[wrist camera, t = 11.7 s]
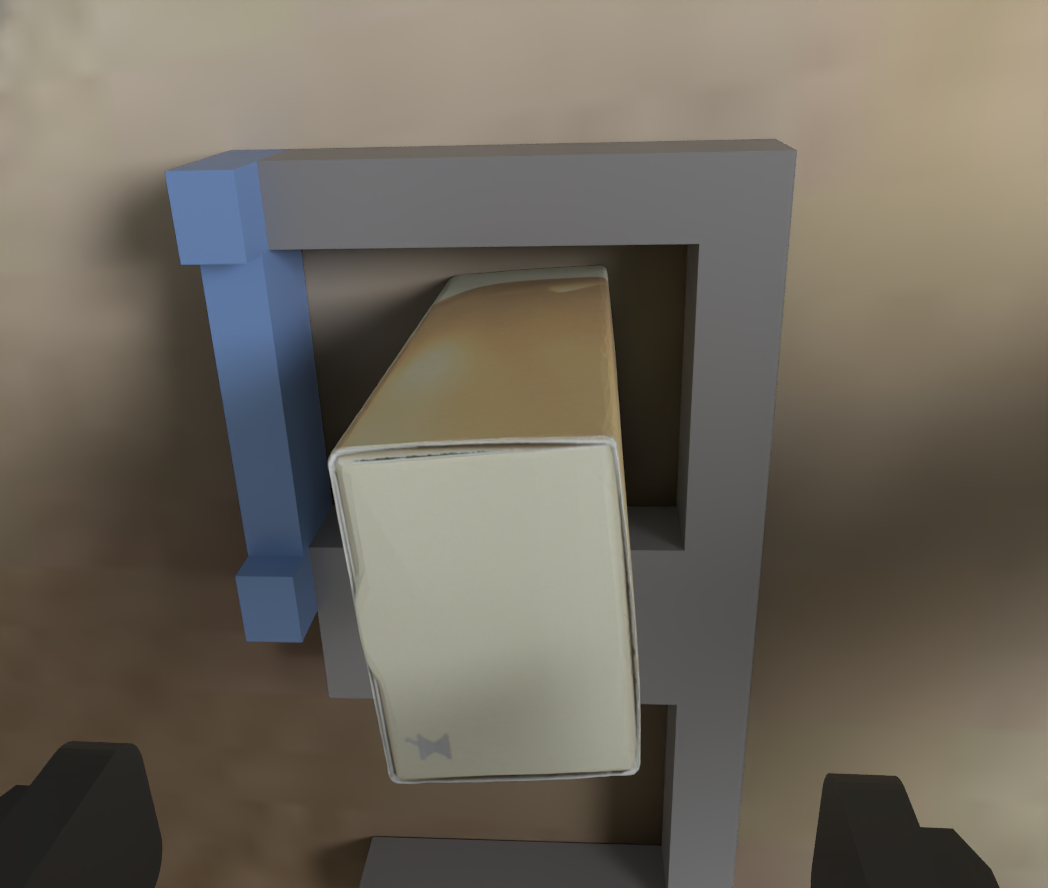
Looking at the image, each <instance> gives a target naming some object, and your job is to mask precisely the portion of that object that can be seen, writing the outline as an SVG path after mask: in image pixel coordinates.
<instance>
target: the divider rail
mask: <svg viewBox="0 0 1048 888" xmlns="http://www.w3.org/2000/svg"><path fill="white" fill-rule="evenodd" d="M796 155H797V150H795V149H793V148H792V147H790V146H788V145H786V144H784V143H782V142H780V141H778V140H777V139H752V140H704V141H657V142H610V143H562V144H515V145H467V146H420V147H373V148H325V149H278V150H231V151H228V152H224V153H221V154H218V155H215V156H212V157H208V158H205V159H202V160H199V161H196V162H192V163H189V164H186V165H183V166H180V167H176V168H173V169H170V170H167V171H165V177H166V182H167V188H168V194H169V200H170V205H171V211H172V217H173V223H174V228H175V234H176V240H177V245H178V251H179V257H180V263H181V265H200V269H201V275H202V281H203V287H204V293H205V299H206V305H207V311H208V317H209V323H210V329H211V335H212V341H213V347H214V353H215V359H216V365H217V371H218V377H219V383H220V389H221V395H222V401H223V407H224V414H225V420H226V426H227V432H228V438H229V444H230V450H231V456H232V462H233V468H234V474H235V480H236V486H237V492H238V498H239V504H240V510H241V516H242V522H243V528H244V534H245V540H246V546H247V552H248V557H247V559H246V561H245V562H244V564H243V565H242V567H241V568H240V570H239V571H238V573H237V574H236V576H235V579H236V584H237V590H238V596H239V602H240V607H241V613H242V619H243V625H244V630H245V636H246V642H303V640H304V638H305V636H306V634H307V631H308V629H309V627H310V625H311V623H312V621H313V619H314V617H315V615H316V612H317V610H318V618H319V625H320V633H321V640H322V647H323V655H324V662H325V669H326V677H327V684H328V692H329V698H362V699H373V694H372V689H371V683H370V678H369V673H368V668H367V664H366V660H365V656H364V651H363V647H362V643H361V639H360V635H359V629H358V624H357V618H356V614H355V608H354V603H353V597H352V591H351V584H350V578H349V574H348V570H347V564H346V559H345V554H344V549H343V543H342V538H341V533H340V528H339V523H338V518H337V512H336V507H335V505H332V498H331V489H330V481H329V473H328V465H327V456H326V448H325V440H324V432H323V423H322V415H321V407H320V399H319V391H318V382H317V374H316V366H315V358H314V349H313V341H312V333H311V325H310V316H309V308H308V300H307V292H306V284H305V275H304V267H303V259H302V251H301V249H362V248H435V247H509V246H583V245H656V244H688V248H687V271H686V294H685V317H684V340H683V363H682V386H681V409H680V432H679V455H678V478H677V501H676V507H636V506H627V514H628V527H629V539H630V551H631V563H632V576H633V590H634V603H635V616H636V630H637V644H638V660H639V678H640V704H661V705H668V708H667V731H666V754H665V777H664V800H663V823H662V846H658V845H626V844H593V843H560V842H527V841H494V840H461V839H428V838H395V837H373V838H372V841H371V845H370V849H369V852H368V856H367V860H366V864H365V867H364V871H363V875H362V878H361V882H360V886H359V888H733V883H734V871H735V860H736V848H737V837H738V825H739V813H740V802H741V790H742V779H743V767H744V756H745V744H746V733H747V721H748V709H749V698H750V686H751V675H752V663H753V652H754V640H755V629H756V617H757V605H758V594H759V582H760V571H761V559H762V548H763V536H764V524H765V513H766V501H767V490H768V478H769V467H770V455H771V444H772V432H773V420H774V409H775V397H776V386H777V374H778V363H779V351H780V340H781V328H782V316H783V305H784V293H785V282H786V270H787V259H788V247H789V236H790V224H791V212H792V201H793V189H794V178H795V166H796Z"/></svg>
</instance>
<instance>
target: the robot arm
mask: <svg viewBox="0 0 1048 888" xmlns="http://www.w3.org/2000/svg"><path fill="white" fill-rule="evenodd" d="M161 860H162V838H161V833H160V829H159V825H158V821H157V817H156V813H155V808H154V804H153V800H152V796H151V792H150V788H149V784H148V779H147V775H146V771H145V767H144V763H143V759H142V756H141V753H140V751H139V749H138V748H137V747H136V746H135V745H134V744H129V743H104V742H79V741H71V742H68V743H66V744H64V745H62V746H61V747H60V748H59V749H58V750H57V751H56V752H55V754H54V755H53V756H52V758H51V759H50V760H49V761H48V763H47V764H46V765H45V767H44V768H43V769H42V771H41V772H40V773H39V774H38V776H37V777H36V778H35V780H34V781H33V782H32V784H31V785H30V786H24V785H16V786H14V787H13V788H12V789H10V790H9V791H8V792H6V793H5V794H4V795H2V796H1V797H0V888H155V885H156V882H157V879H158V876H159V871H160V866H161ZM811 888H999V885H998V883H997V881H996V879H995V877H994V875H993V872H992V870H991V869H990V868H989V867H988V865H987V864H986V863H985V862H984V861H983V860H982V859H981V858H980V857H979V856H978V855H977V854H976V853H975V852H974V851H973V850H972V849H971V847H970V846H969V845H968V844H967V843H966V842H965V841H964V840H963V839H962V838H961V837H960V836H959V835H958V834H957V833H956V832H955V831H954V829H948V828H925V827H920V825H919V823H918V820H917V818H916V815H915V813H914V810H913V808H912V805H911V803H910V800H909V798H908V795H907V793H906V790H905V788H904V786H903V784H902V782H901V780H900V779H899V778H898V777H896V776H884V775H859V774H834V773H829V774H827V775H826V777H825V780H824V783H823V789H822V797H821V804H820V811H819V819H818V826H817V834H816V841H815V848H814V856H813V863H812V871H811Z"/></svg>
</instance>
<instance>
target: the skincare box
mask: <svg viewBox="0 0 1048 888" xmlns="http://www.w3.org/2000/svg"><path fill="white" fill-rule="evenodd" d="M328 470H329V473H330V479H331V484H332V490H333V496H334V501H335V507H336V512H337V518H338V523H339V528H340V533H341V538H342V543H343V549H344V554H345V559H346V564H347V570H348V574H349V578H350V584H351V591H352V597H353V603H354V608H355V614H356V618H357V624H358V629H359V635H360V639H361V643H362V647H363V651H364V656H365V660H366V664H367V668H368V673H369V678H370V683H371V689H372V694H373V699H374V705H375V709H376V714H377V718H378V723H379V728H380V734H381V739H382V743H383V748H384V752H385V757H386V762H387V768H388V774H389V777H390V779H391V781H393V782H395V783H396V784H417V783H430V782H441V783H455V782H495V781H533V780H560V779H582V778H592V777H605V776H627V775H634V774H635V773H636V772H637V771H638V770H639V767H640V763H641V760H640V742H641V724H640V718H641V712H640V678H639V660H638V644H637V630H636V616H635V603H634V590H633V576H632V563H631V551H630V539H629V527H628V514H627V502H626V490H625V478H624V465H623V452H622V439H621V425H620V411H619V397H618V382H617V366H616V355H615V345H614V334H613V324H612V315H611V305H610V295H609V286H608V274H607V269H606V268H605V267H604V266H600V265H598V266H578V267H557V268H542V269H527V270H514V271H501V272H490V273H478V274H467V275H458V276H455V277H452V278H450V279H449V281H448V282H447V284H446V285H445V287H444V288H443V289H442V291H441V292H440V294H439V295H438V297H437V298H436V300H435V301H434V303H433V304H432V306H431V307H430V308H429V310H428V311H427V313H426V314H425V316H424V317H423V319H422V320H421V322H420V323H419V325H418V326H417V328H416V329H415V330H414V332H413V333H412V335H411V336H410V337H409V339H408V340H407V342H406V343H405V345H404V346H403V348H402V349H401V351H400V352H399V354H398V355H397V357H396V358H395V360H394V361H393V362H392V364H391V365H390V367H389V368H388V370H387V371H386V373H385V374H384V376H383V377H382V379H381V380H380V382H379V383H378V385H377V386H376V388H375V389H374V391H373V392H372V394H371V395H370V397H369V398H368V400H367V401H366V402H365V404H364V405H363V407H362V408H361V410H360V411H359V413H358V414H357V415H356V417H355V418H354V420H353V421H352V423H351V424H350V426H349V427H348V429H347V430H346V432H345V433H344V434H343V436H342V437H341V439H340V440H339V442H338V443H337V445H336V446H335V448H334V449H333V450H332V452H331V454H330V456H329V459H328Z"/></svg>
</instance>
